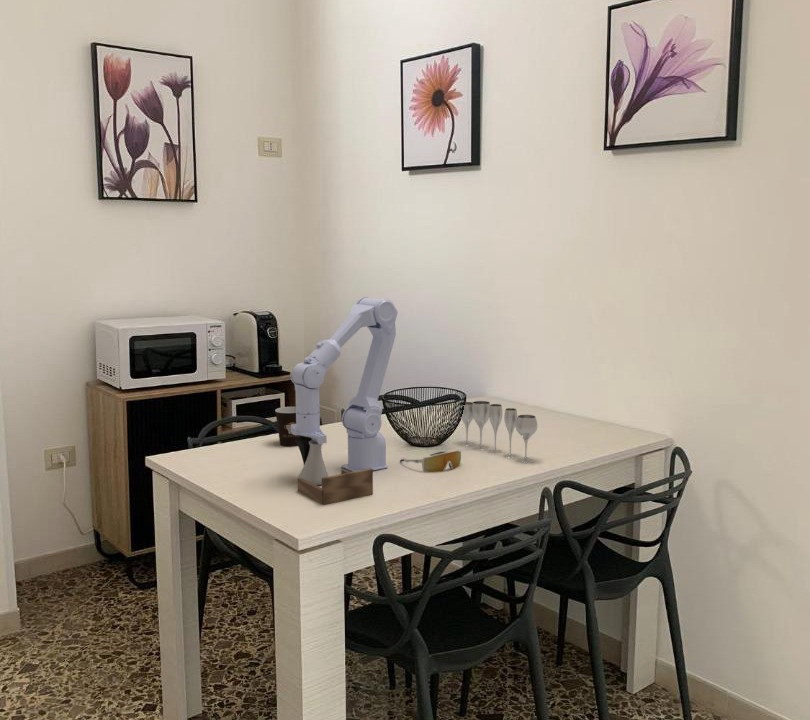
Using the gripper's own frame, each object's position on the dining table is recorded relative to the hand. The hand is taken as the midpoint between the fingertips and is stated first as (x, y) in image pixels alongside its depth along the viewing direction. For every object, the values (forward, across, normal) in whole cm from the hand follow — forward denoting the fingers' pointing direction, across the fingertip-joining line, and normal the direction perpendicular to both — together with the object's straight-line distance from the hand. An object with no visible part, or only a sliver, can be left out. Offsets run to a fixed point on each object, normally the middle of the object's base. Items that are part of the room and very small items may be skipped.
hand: (308, 466), depth 203 cm
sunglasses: (+4, +6, +33) cm, 34 cm away
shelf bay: (+3, +12, 0) cm, 13 cm away
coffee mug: (+4, -33, +14) cm, 36 cm away
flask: (+3, +2, 0) cm, 4 cm away
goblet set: (+4, +7, +55) cm, 55 cm away
